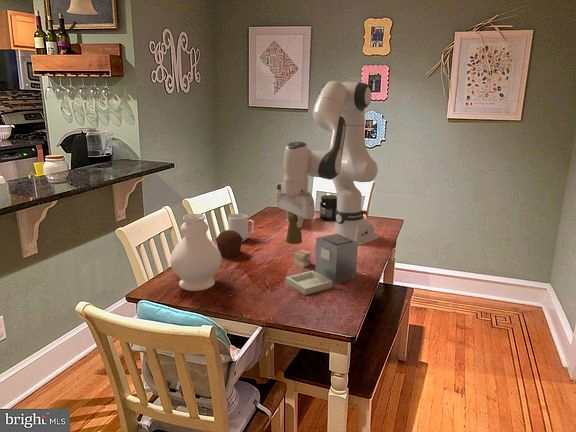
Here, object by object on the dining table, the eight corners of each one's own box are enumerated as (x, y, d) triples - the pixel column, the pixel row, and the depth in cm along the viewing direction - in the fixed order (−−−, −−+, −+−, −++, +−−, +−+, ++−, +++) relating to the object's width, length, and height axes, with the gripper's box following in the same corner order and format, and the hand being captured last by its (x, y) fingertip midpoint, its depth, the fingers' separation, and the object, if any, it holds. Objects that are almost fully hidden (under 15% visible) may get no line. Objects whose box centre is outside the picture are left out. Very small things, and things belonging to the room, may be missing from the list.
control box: (335, 267, 188) (336, 232, 184) (356, 277, 179) (358, 241, 175) (314, 272, 183) (315, 237, 179) (334, 283, 173) (336, 246, 169)
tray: (312, 276, 180) (312, 270, 179) (332, 287, 170) (332, 281, 169) (285, 283, 173) (285, 277, 172) (305, 295, 163) (305, 288, 163)
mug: (225, 241, 218) (224, 217, 215) (233, 235, 226) (233, 212, 223) (249, 244, 214) (249, 220, 211) (257, 238, 222) (257, 215, 219)
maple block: (301, 261, 195) (301, 249, 193) (310, 264, 192) (311, 252, 190) (293, 264, 191) (293, 252, 190) (303, 267, 188) (303, 255, 187)
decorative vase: (165, 279, 175) (161, 213, 168) (211, 270, 184) (209, 207, 177) (180, 298, 160) (176, 226, 154) (229, 287, 169) (228, 219, 162)
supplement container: (340, 216, 259) (341, 195, 256) (337, 222, 249) (338, 199, 246) (321, 215, 262) (321, 194, 258) (317, 220, 252) (318, 198, 248)
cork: (285, 239, 179) (285, 210, 177) (301, 238, 180) (301, 210, 177) (286, 244, 174) (287, 215, 171) (303, 244, 174) (303, 214, 171)
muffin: (246, 257, 198) (246, 234, 196) (220, 260, 194) (219, 237, 192) (238, 248, 209) (237, 226, 206) (213, 251, 205) (212, 228, 202)
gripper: (319, 192, 165) (318, 231, 168) (287, 182, 181) (286, 217, 185) (304, 194, 161) (303, 233, 165) (273, 183, 178) (273, 219, 182)
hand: (294, 225), depth 175 cm, fingers closed on cork, 4 cm apart
